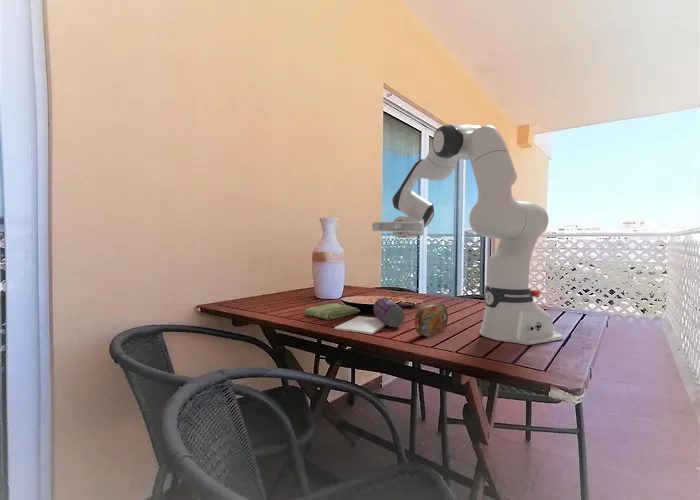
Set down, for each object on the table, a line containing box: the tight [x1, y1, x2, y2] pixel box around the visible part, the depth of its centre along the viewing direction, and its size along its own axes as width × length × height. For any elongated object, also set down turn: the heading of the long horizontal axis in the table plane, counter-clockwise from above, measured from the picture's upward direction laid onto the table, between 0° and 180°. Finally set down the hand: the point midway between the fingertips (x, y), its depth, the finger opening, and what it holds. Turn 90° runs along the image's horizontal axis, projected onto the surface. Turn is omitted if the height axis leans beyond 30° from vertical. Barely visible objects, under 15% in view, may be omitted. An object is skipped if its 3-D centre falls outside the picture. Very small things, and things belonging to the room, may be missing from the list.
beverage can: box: [372, 297, 405, 328], centre depth 121 cm, size 7×7×12 cm
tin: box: [414, 303, 449, 338], centre depth 110 cm, size 15×3×8 cm, turn 137°
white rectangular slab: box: [334, 315, 387, 335], centre depth 118 cm, size 18×12×1 cm, turn 155°
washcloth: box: [304, 303, 361, 321], centre depth 134 cm, size 13×18×3 cm
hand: (391, 226), depth 140 cm, fingers closed
